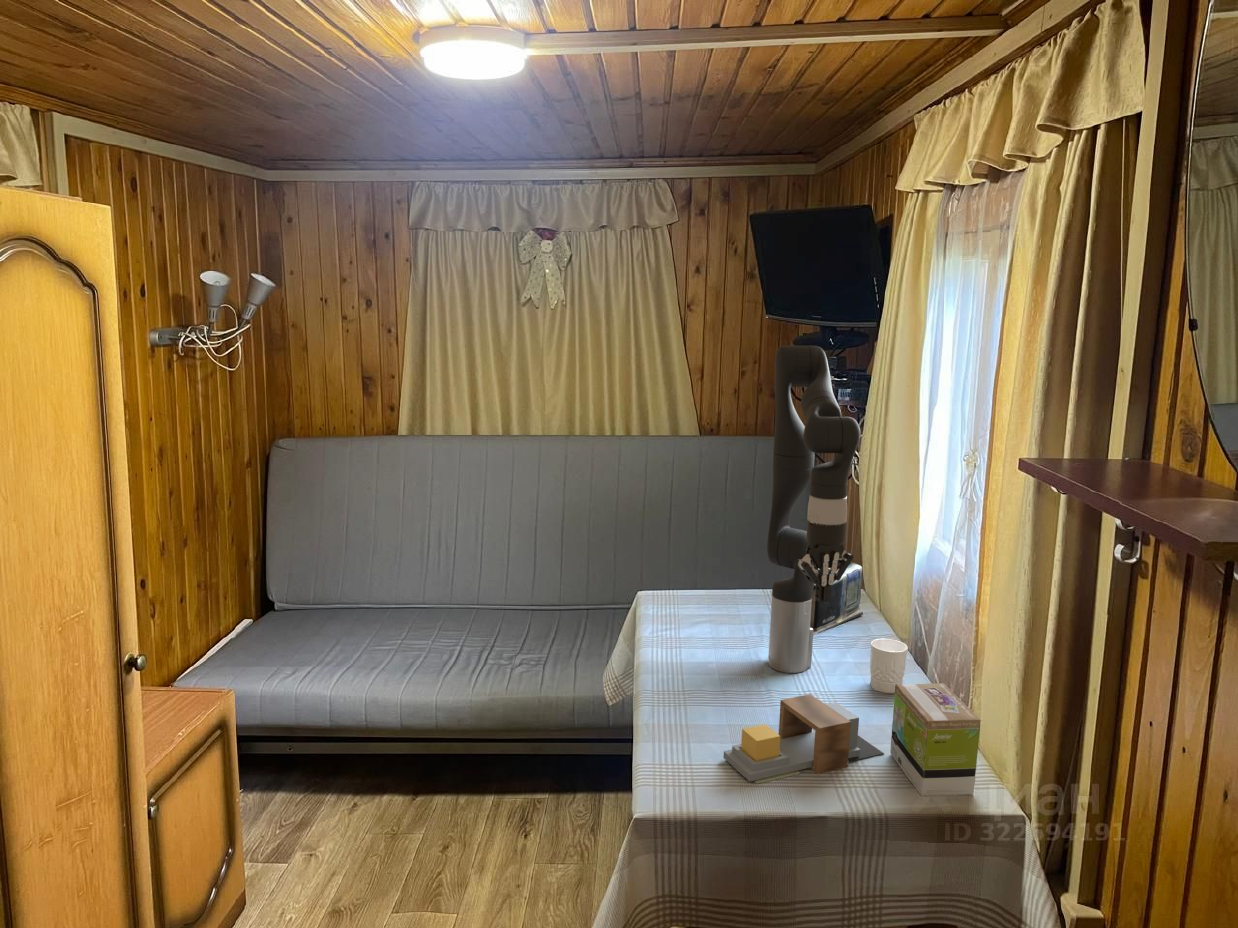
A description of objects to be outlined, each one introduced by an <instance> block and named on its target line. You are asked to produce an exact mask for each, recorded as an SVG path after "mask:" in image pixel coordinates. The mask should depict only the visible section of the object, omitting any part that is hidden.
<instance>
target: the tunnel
mask: <svg viewBox="0 0 1238 928" xmlns="http://www.w3.org/2000/svg"><path fill="white" fill-rule="evenodd" d="M779 703H780V706H779V719H778V720H779V722H778V735H779V736H780V739H783V738H788V737H793V736H797V735H802V734H807V733H811V732H813V730H814V732H815V743H814V758H813V767H812V772H813V773H814V774H815V775H817V774H818V775H819V774H823V773H827V772H832V771H836V770H840V769H844V768H848V767H849V766H848V765H849V761H848V755H849V742H850V728H851V721H849V720H848V719H846V718H845V717H843V716H842V715H840V714H839V713H838V712H836V711H835V710H833V709H832V708H830V707H829V706H827V705H826V704H827V703H825V702H823V701H821V700H820V699H818V698H817V697H816V696H814V695H812V694H805V695H799V696H794V697H789V698H784V699H780V702H779Z"/></svg>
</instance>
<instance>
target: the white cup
mask: <svg viewBox="0 0 1238 928" xmlns="http://www.w3.org/2000/svg"><path fill="white" fill-rule="evenodd" d="M908 648H909V647H908V645H907V644H906V643H904V642H902V641H899V640H896V639H892V638H876V639H873V640H872V641H870V662H869V663H870V664H869V665H870V666H869V667H870V669H869V671H870V672H869V673H870V687H871V688H872V689H873V690H874V691H875V690H876V691H877V690H878V691H877V692H881V693H886V694H895V685H896V684H897V685H903V680H904V676H905V671H906V665H907V663H906V662H907V656H908V650H909V649H908Z"/></svg>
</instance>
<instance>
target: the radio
mask: <svg viewBox="0 0 1238 928" xmlns="http://www.w3.org/2000/svg"><path fill="white" fill-rule="evenodd" d="M838 570H839V569H838ZM838 570H837V572H838ZM837 572H836V573H837ZM862 581H863V567H862V566H861V565H860V564H857V563H855V562H853V561H851V563H850V564H849V566H848V567H847V569H846V571H845V572H844V574H843V575H842V577H841V579H840V580H838V581H837V580H836V581H834V582H833V584H832V586H831V598H830V599H829V602H828V603H823V604H822V603H820V602H818V601H817V599H816V598H815V589H816V584H814V588H813V592H812V605H811V621H810V627H811V628H813V636H815V635H819V634H821V633H823V632H825V631H828V630H830V629H832V628H834V627H837V626H839V625H841V624H844V623H847V622H849V621H851V620H853V619H856V618H858V617H861V616H863V615H864V612H863V611H862V610H861V608H860V604H861V597H862V595H861V594H862V591H861V590H862Z"/></svg>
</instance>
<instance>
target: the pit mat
mask: <svg viewBox="0 0 1238 928" xmlns="http://www.w3.org/2000/svg"><path fill="white" fill-rule="evenodd" d="M857 747H858V748H859V749H860V756H857V757H852V758H848V763H851V762H856V761H861V760H865V759H870V758H873V757H878V756H883V755H884V754H885V753H884V752H883V751H882V750H880V749H879V748H877V747H876V746H874V745H872V743H870V742H869V741H867V740H865V739H864V738H863V737H862V736H860V735H858V740H857Z"/></svg>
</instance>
